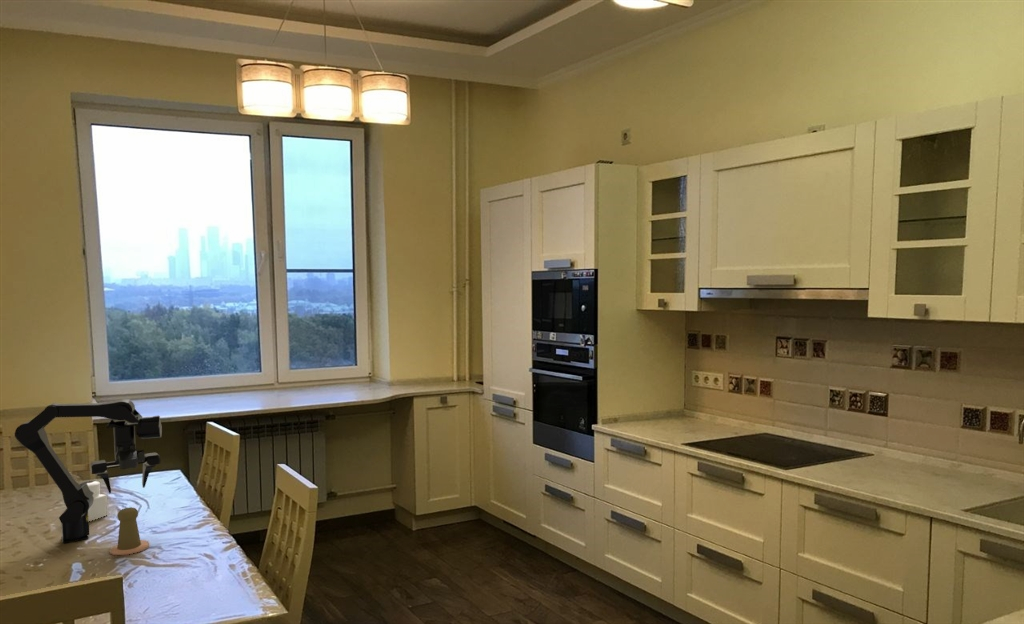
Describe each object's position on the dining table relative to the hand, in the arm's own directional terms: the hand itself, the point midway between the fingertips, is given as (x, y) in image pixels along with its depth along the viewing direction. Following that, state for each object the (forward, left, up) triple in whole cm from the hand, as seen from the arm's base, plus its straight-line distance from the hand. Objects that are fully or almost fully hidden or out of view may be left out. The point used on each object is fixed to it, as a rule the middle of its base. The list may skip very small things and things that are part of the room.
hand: (127, 490), depth 216 cm
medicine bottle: (-8, +24, -13) cm, 29 cm away
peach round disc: (-2, -17, -13) cm, 22 cm away
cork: (-2, -17, -12) cm, 21 cm away
